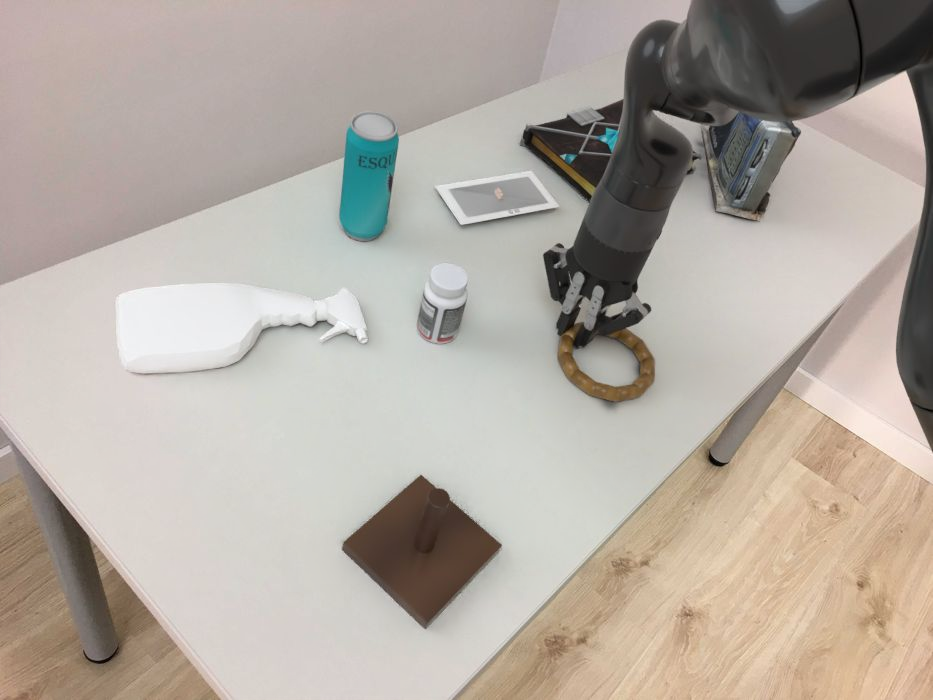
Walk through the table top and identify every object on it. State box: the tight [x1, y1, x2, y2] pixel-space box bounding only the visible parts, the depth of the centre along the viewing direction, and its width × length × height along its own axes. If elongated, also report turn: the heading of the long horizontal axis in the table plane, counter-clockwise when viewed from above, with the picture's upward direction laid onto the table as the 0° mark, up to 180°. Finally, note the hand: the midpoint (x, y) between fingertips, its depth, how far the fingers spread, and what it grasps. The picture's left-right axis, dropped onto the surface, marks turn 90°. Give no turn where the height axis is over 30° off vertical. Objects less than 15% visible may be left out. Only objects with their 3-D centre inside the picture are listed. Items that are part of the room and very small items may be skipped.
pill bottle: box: [416, 262, 469, 345], centre depth 85 cm, size 5×5×8 cm
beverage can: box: [338, 110, 400, 242], centre depth 91 cm, size 6×6×15 cm
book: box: [519, 98, 704, 202], centre depth 115 cm, size 22×17×5 cm
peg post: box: [341, 474, 503, 630], centre depth 67 cm, size 10×10×10 cm
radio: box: [700, 112, 802, 221], centre depth 115 cm, size 23×9×15 cm, turn 168°
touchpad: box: [434, 170, 560, 226], centre depth 104 cm, size 8×15×2 cm, turn 117°
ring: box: [556, 321, 656, 403], centre depth 89 cm, size 11×11×2 cm
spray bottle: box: [114, 282, 369, 374], centre depth 82 cm, size 3×11×24 cm
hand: (571, 338), depth 91 cm, fingers closed on ring, 1 cm apart
